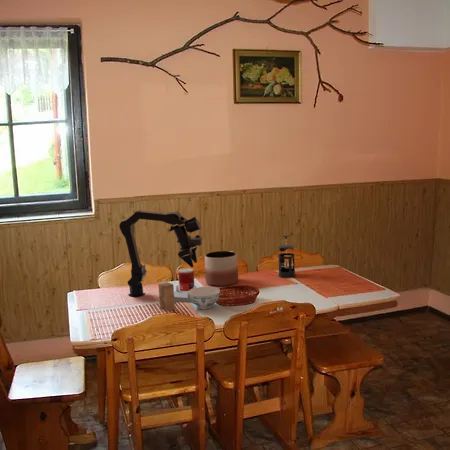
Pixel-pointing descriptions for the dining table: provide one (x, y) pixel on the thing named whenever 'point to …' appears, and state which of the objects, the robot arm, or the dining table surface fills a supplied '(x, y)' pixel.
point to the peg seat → (181, 295)
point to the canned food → (186, 279)
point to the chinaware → (204, 296)
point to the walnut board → (166, 296)
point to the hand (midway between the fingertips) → (194, 264)
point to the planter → (221, 268)
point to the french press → (282, 270)
